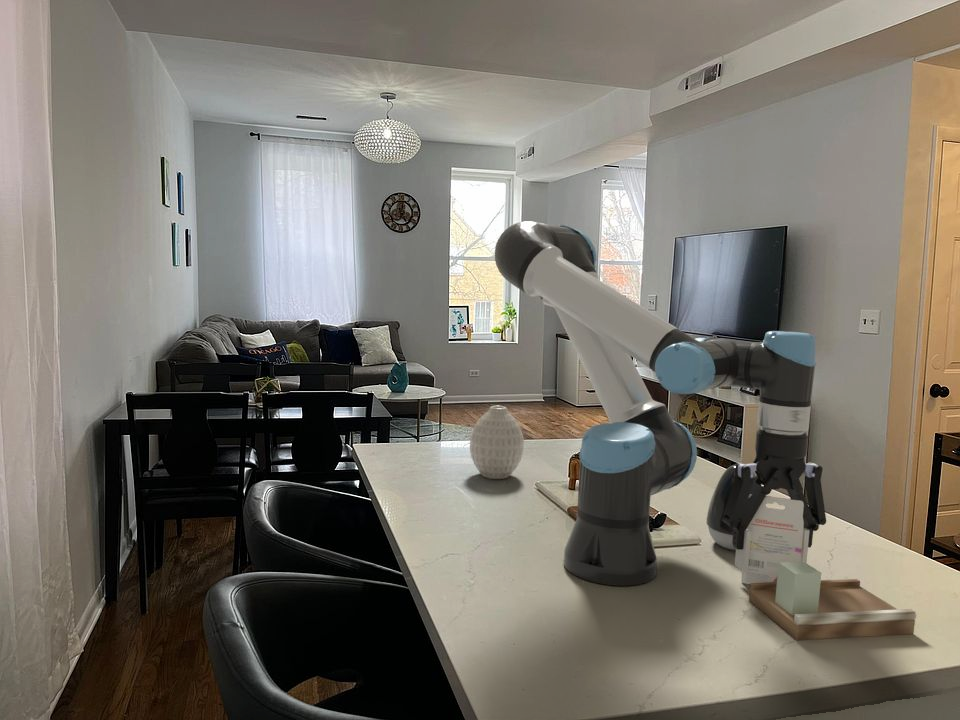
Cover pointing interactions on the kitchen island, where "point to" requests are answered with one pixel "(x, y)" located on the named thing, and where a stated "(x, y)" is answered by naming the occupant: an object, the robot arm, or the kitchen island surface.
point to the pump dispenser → (722, 509)
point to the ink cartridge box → (774, 539)
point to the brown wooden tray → (836, 612)
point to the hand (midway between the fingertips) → (770, 567)
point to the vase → (496, 443)
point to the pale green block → (798, 588)
